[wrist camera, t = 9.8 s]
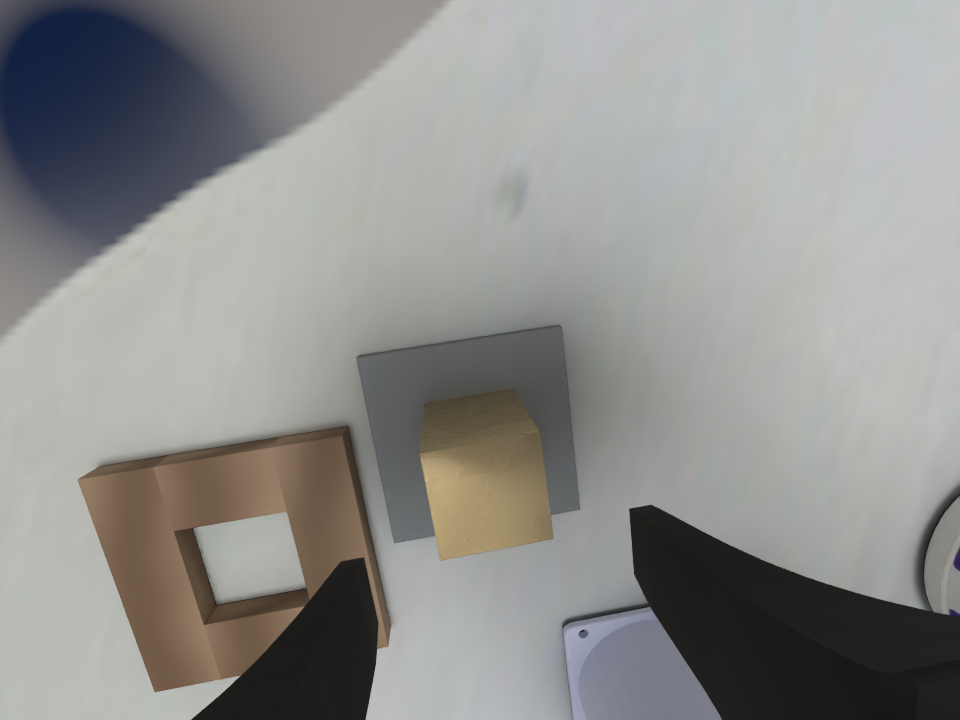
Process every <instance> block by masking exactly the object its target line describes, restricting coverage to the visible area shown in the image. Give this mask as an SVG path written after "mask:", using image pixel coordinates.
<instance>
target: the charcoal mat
mask: <svg viewBox="0 0 960 720" xmlns="http://www.w3.org/2000/svg"><path fill="white" fill-rule="evenodd" d="M357 363H358V368H359V373H360V378H361V383H362V387H363V392H364V397H365V402H366V407H367V412H368V417H369V422H370V427H371V432H372V437H373V441H374V446H375V451H376V456H377V461H378V466H379V471H380V476H381V481H382V486H383V491H384V496H385V500H386V505H387V510H388V515H389V520H390V525H391V530H392V535H393V540H394V543H398V542H404V541H409V540H415V539H420V538H426V537H431V536H435V531H434V525H433V520H432V515H431V510H430V505H429V499H428V494H427V489H426V484H425V478H424V473H423V468H422V463H421V457H420V445H421V433H422V421H423V409H424V403H429V402H435V401H440V400H446V399H452V398H458V397H464V396H470V395H475V394H481V393H487V392H493V391H499V390H505V389H511V388H513V390H514V391H515V393H516V395H517V396H518V398H519V399H520V401H521V403H522V404H523V406H524V407H525V409H526V411H527V412H528V414H529V415H530V417H531V419H532V420H533V422H534V423H535V425H536V427H537V428H538V430H539V431H540V436H541V444H542V452H543V459H544V467H545V475H546V483H547V491H548V499H549V507H550V515H552V514H558V513H563V512H569V511H574V510H580V504H579V494H578V484H577V474H576V465H575V455H574V445H573V435H572V425H571V415H570V405H569V395H568V385H567V375H566V365H565V355H564V345H563V335H562V327H561V326H559V325H556V326H550V327H543V328H537V329H530V330H524V331H517V332H511V333H504V334H498V335H491V336H485V337H478V338H472V339H465V340H459V341H452V342H446V343H439V344H433V345H426V346H420V347H413V348H407V349H400V350H394V351H387V352H381V353H374V354H368V355H361V356H358V357H357Z"/></svg>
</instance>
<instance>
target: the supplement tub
mask: <svg viewBox="0 0 960 720" xmlns="http://www.w3.org/2000/svg"><path fill="white" fill-rule="evenodd" d="M924 582H925V588H926V593H927V597H928V599H929V602H930V605H931V607H932V609H933V611H934V612H936V613H942V614H947V615H953V616H958V617H960V496H959V497H958V498H957V499H956V500H955V501H954V502H953V503H952V505H951V506H950V507H949V508H948V509H947V510H946V512H945V513H944V515H943V516H942V518H941V519H940V521H939V523H938V525H937V527H936V529H935V531H934V533H933V535H932V538H931V540H930V543H929V547H928V550H927V554H926V560H925V567H924Z"/></svg>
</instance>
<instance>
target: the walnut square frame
mask: <svg viewBox="0 0 960 720" xmlns="http://www.w3.org/2000/svg"><path fill="white" fill-rule="evenodd" d="M78 482H79V485H80V488H81V490H82V493H83V496H84V499H85V501H86V504H87V507H88V510H89V512H90V515H91V518H92V521H93V523H94V526H95V529H96V532H97V534H98V537H99V540H100V543H101V546H102V548H103V551H104V554H105V557H106V559H107V562H108V565H109V568H110V570H111V573H112V576H113V579H114V581H115V584H116V587H117V590H118V592H119V595H120V598H121V601H122V603H123V606H124V609H125V612H126V614H127V617H128V620H129V623H130V625H131V628H132V631H133V634H134V636H135V639H136V642H137V645H138V647H139V650H140V653H141V656H142V658H143V661H144V664H145V667H146V669H147V672H148V675H149V678H150V680H151V683H152V686H153V689H154V691H155V692H158V691H163V690H169V689H174V688H179V687H184V686H189V685H194V684H199V683H204V682H209V681H214V680H220V679H225V678H230V677H235V676H240V675H242V674H243V673H244V672H245V671H246V670H247V669H248V668H249V667H250V666H251V665H252V664H253V663H254V662H255V661H256V660H257V659H258V658H259V657H260V656H261V655H262V654H263V653H264V652H265V651H266V650H267V649H268V648H269V647H270V646H271V644H272V643H273V642H274V641H275V640H276V639H277V638H278V637H279V636H280V634H281V633H282V632H283V631H284V630H285V629H286V628H287V627H288V625H289V624H290V623H291V622H292V621H293V620H294V619H295V618H296V616H297V615H298V614H299V613H300V611H301V610H302V609H303V608H304V607H305V605H306V604H307V603H308V602H309V600H310V599H311V598H312V597H313V596H314V594H315V593H316V592H317V590H318V589H319V588H320V587H321V585H322V584H323V583H324V582H325V580H326V579H327V578H328V577H329V575H330V574H331V573H332V572H333V570H334V569H335V568H336V567H337V565H338V564H339V563H340V562H341V561H346V560H351V559H357V558H362V557H364V559H365V564H366V568H367V573H368V577H369V582H370V586H371V591H372V595H373V600H374V604H375V609H376V613H377V618H378V622H379V626H378V642H377V649H378V648H383V647H388V645H389V637H390V628H391V626H390V621H389V617H388V612H387V607H386V603H385V598H384V593H383V589H382V584H381V579H380V575H379V570H378V566H377V561H376V556H375V552H374V547H373V542H372V538H371V533H370V528H369V524H368V519H367V514H366V510H365V505H364V500H363V496H362V491H361V487H360V482H359V477H358V473H357V468H356V463H355V459H354V454H353V449H352V445H351V440H350V435H349V431H348V426H346V427H339V428H333V429H327V430H321V431H315V432H309V433H303V434H297V435H291V436H285V437H278V438H272V439H266V440H260V441H254V442H248V443H242V444H236V445H230V446H223V447H217V448H211V449H205V450H199V451H193V452H187V453H181V454H175V455H169V456H162V457H156V458H150V459H144V460H138V461H132V462H126V463H120V464H114V465H107V466H101V467H98V468H96V469H94V470H93V471H91V472H89V473H88V474H86V475H84V476H83V477H81V478H79V479H78ZM281 512H287V513H288V517H289V521H290V525H291V529H292V533H293V537H294V541H295V544H296V548H297V552H298V556H299V560H300V564H301V568H302V572H303V576H304V579H305V583H306V587H307V589H303V590H298V591H293V592H287V593H282V594H277V595H271V596H266V597H260V598H255V599H250V600H244V601H239V602H233V603H228V604H223V605H217V606H216V603H215V600H214V597H213V593H212V590H211V587H210V584H209V581H208V577H207V574H206V571H205V568H204V564H203V561H202V558H201V555H200V552H199V548H198V545H197V542H196V539H195V536H194V532H193V529H192V528H195V527H200V526H206V525H212V524H218V523H223V522H229V521H235V520H241V519H246V518H252V517H258V516H264V515H269V514H275V513H281Z"/></svg>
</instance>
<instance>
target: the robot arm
mask: <svg viewBox="0 0 960 720" xmlns="http://www.w3.org/2000/svg"><path fill="white" fill-rule="evenodd" d="M629 511H630V524H631V538H632V551H633V565H634V575H635V577H636V579H637V581H638V583H639V585H640V587H641V589H642V591H643V594H644V596H645V597H646V599H647V601H648V603H649V605H650V607H647V608H642V609H637V610H632V611H627V612H622V613H617V614H612V615H607V616H602V617H597V618H592V619H587V620H582V621H577V622H571V623H569V624H567V625H566V626H565V627H564V628H563V640H564V648H565V657H566V665H567V674H568V682H569V691H570V699H571V708H572V716H573V720H960V617H958V616H953V615H947V614H942V613H936V612H931V611H926V610H922V609H917V608H913V607H909V606H905V605H901V604H896V603H892V602H888V601H884V600H880V599H876V598H873V597H869V596H865V595H861V594H858V593H855V592H851V591H848V590H845V589H841V588H838V587H835V586H832V585H828V584H825V583H822V582H819V581H816V580H813V579H810V578H807V577H805V576H802V575H799V574H797V573H794V572H791V571H789V570H786V569H783V568H781V567H778V566H775V565H773V564H771V563H768V562H766V561H763V560H761V559H759V558H756V557H754V556H752V555H750V554H748V553H745V552H743V551H741V550H739V549H737V548H734V547H732V546H730V545H728V544H726V543H724V542H722V541H720V540H718V539H716V538H714V537H712V536H710V535H708V534H706V533H704V532H702V531H700V530H699V529H697V528H695V527H693V526H691V525H689V524H687V523H685V522H684V521H682V520H680V519H678V518H676V517H674V516H672V515H670V514H669V513H667V512H665V511H663V510H661V509H659V508H657V507H655V506H652V505H648V506H642V507H637V508H631V509H629ZM378 626H379V622H378V618H377V613H376V609H375V604H374V600H373V595H372V591H371V586H370V582H369V577H368V573H367V568H366V564H365V559H364V557H362V558H357V559H351V560H346V561H341V562H340V563H339V564H338V565H337V567H336V568H335V569H334V570H333V572H332V573H331V574H330V575H329V577H328V578H327V579H326V580H325V582H324V583H323V584H322V585H321V587H320V588H319V589H318V590H317V592H316V593H315V594H314V596H313V597H312V598H311V599H310V600H309V602H308V603H307V604H306V605H305V607H304V608H303V609H302V610H301V611H300V613H299V614H298V615H297V616H296V618H295V619H294V620H293V621H292V622H291V623H290V624H289V625H288V627H287V628H286V629H285V630H284V631H283V632H282V633H281V634H280V636H279V637H278V638H277V639H276V640H275V641H274V642H273V643H272V644H271V646H270V647H269V648H268V649H267V650H266V651H265V652H264V653H263V654H262V655H261V656H260V657H259V658H258V659H257V660H256V661H255V662H254V663H253V664H252V665H251V666H250V667H249V668H248V669H247V670H246V671H245V672H244V673H243V674H242V675H241V676H240V677H239V678H238V679H237V680H236V681H235V682H234V683H233V684H232V685H231V686H230V687H229V688H227V689H226V690H225V691H224V692H223V693H222V694H221V695H220V696H219V697H217V698H216V699H215V700H214V701H213V702H211V703H210V704H209V705H208V706H207V707H206V708H204V709H203V710H202V711H201V712H200V713H199V714H197V715H196V716H195V717H194V718H193V719H192V720H365V719H366V714H367V709H368V704H369V698H370V693H371V688H372V682H373V677H374V671H375V666H376V655H377V642H378ZM581 630H585V631H583V632H580V631H581Z"/></svg>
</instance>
